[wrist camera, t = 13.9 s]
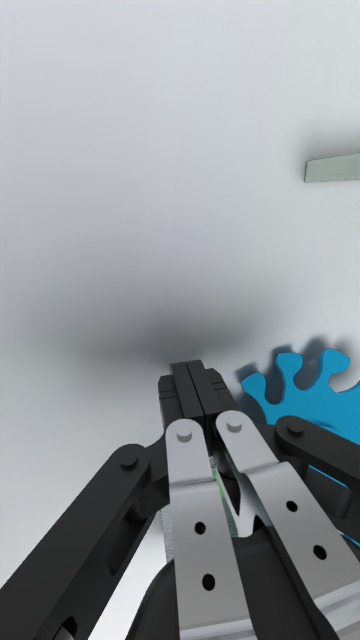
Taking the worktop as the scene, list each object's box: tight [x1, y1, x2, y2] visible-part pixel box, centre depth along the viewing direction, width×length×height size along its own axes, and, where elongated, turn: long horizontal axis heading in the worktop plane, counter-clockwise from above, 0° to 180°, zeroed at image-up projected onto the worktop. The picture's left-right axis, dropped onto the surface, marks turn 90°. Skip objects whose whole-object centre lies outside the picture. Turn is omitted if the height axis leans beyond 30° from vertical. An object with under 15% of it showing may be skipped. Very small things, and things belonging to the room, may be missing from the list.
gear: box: [212, 348, 360, 546], centre depth 16 cm, size 11×6×10 cm
